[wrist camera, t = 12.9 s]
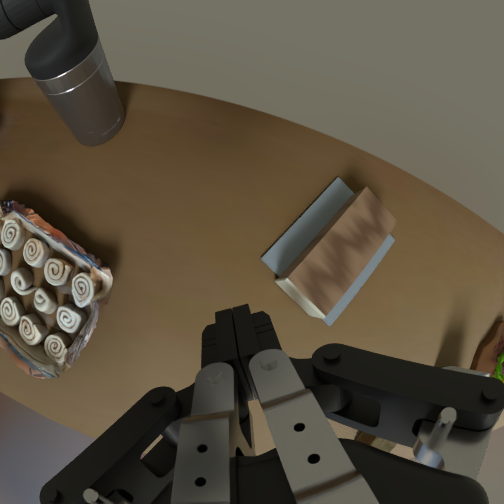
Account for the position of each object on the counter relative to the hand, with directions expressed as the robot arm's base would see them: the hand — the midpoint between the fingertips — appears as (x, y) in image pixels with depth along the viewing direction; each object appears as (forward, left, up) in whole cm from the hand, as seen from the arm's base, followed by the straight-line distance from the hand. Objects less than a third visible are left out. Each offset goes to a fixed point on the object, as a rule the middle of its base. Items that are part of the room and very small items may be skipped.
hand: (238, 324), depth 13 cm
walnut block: (+9, +6, -23) cm, 25 cm away
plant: (+64, +19, -26) cm, 72 cm away
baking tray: (-25, -16, -26) cm, 39 cm away
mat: (+10, +16, -25) cm, 32 cm away
